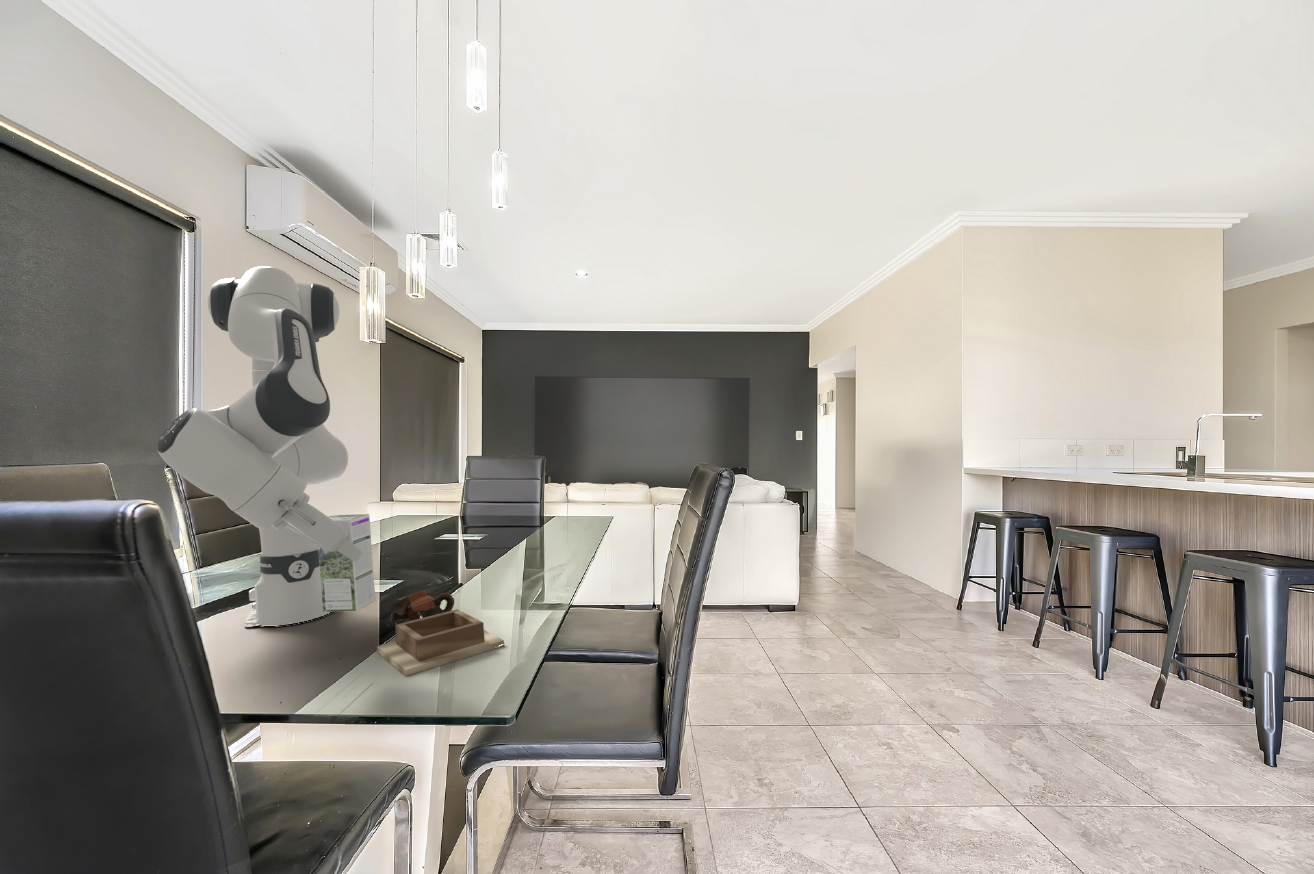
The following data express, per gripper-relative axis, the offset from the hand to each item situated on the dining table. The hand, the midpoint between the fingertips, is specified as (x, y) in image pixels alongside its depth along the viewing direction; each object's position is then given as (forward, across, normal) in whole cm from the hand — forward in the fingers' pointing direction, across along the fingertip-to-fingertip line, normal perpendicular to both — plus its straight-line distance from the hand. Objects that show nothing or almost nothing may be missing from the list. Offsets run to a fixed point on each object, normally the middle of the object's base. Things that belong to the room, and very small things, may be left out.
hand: (350, 552), depth 97 cm
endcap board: (+24, +2, +4) cm, 24 cm away
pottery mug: (+26, +16, +3) cm, 31 cm away
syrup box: (+6, 0, +7) cm, 9 cm away
